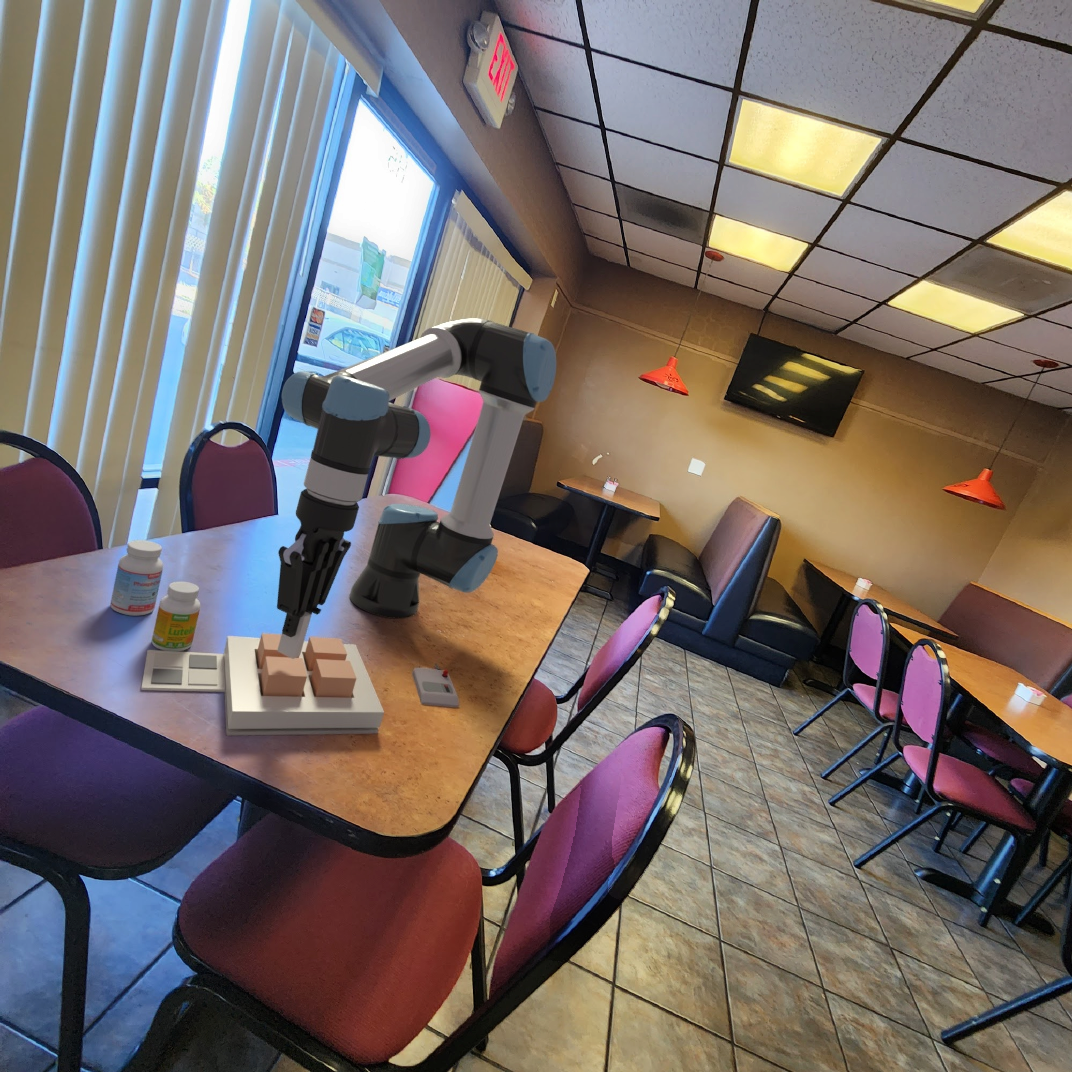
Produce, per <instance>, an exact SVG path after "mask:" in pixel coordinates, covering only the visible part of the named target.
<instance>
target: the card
mask: <svg viewBox="0 0 1072 1072" xmlns="http://www.w3.org/2000/svg"><path fill="white" fill-rule="evenodd" d="M223 654H224V653H215V652H214V653H210V652H209V653H208V652H196V651H195V652H193V651H192V652H191V651H178V652H177V651H164V650H159V649H158V650H157V649H156V650H155V649H147V652H146V656H145V657H146V658H145V663H144V670H143V677H142V681H141V688H140V690H141V691H160V692H161V691H162V692H163V691H164V692H165V691H166V692H170V691H171V692H202V693H203V692H209V693H210V692H212V693H216V692H217V693H225V677H224V656H223Z"/></svg>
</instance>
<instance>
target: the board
mask: <svg viewBox="0 0 1072 1072" xmlns="http://www.w3.org/2000/svg"><path fill="white" fill-rule="evenodd" d="M260 638H261V637H250V636H249V637H248V636H236V635H227V638H226V641H225V645H224V650H223V651H224V652H223V653H222V654H223V656H224V677H225V692H224V707H225V708H224V709H225V729H226V730H225V731H226V732H225V733H226V734H225V735H226V736H281V735H282V736H291V735H295V736H296V735H348V734H349V735H354V734H355V735H359V734H362V735H363V734H366V735H367V734H368V735H369V734H378V733H379V728H380V727H381V724H382V721H383V718H384V714H385V711H384V709H383V706H382V704H381V702H380V699H379V697H378V695H377V692H376V690H375V688H374V687H375V686H374V685H373V683H372V680H371V678H370V675H369V673H368V671H367V668H366V666H365V663H364V661H363V659H362V657H361V654H360V652H359V649H358V647H357V644H353V643H343V645H344V647H345V650H346V653H347V656H346V660H345V661H350V663H351V665H352V668H353V670H354V673H355V676H356V678H357V679H356V682H355V686H354V689H353V692H352V696H351V698H340V697H315V693H314V689H313V686H312V682H311V676H312V673H313V671H308V667H307V663H306V660H305V656H304V655H305V651H306V647H307V644H308V640H304V643H303V647H302V650H301V654H300V656H299V658H302V659H303V663H304V667H305V671H306V674H307V679H306V682H305V686H304V690H303V693H302V697H289V696H263V692H262V685H261V678H260V677H261V673H262V669H259V664H258V657H257V650H258V646H259V642H260Z"/></svg>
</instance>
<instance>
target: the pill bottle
mask: <svg viewBox="0 0 1072 1072" xmlns="http://www.w3.org/2000/svg"><path fill="white" fill-rule="evenodd" d="M126 547H127V548H126V553H127V554H125V555H122V556H121V557H120V559H119V560H118V564H117V568H116V569H117V570H116V574H115V579H114V583H113V588H112V589H113V590H112V595H111V600H110V608H111V610H114V611H115V612H117V613H119V614H122V615H126V616H135V617H136V616H137V617H138V616H144V615H147V614H150V613H152V612H153V611H154V610H155V607H156V603H157V597H158V593H159V590H160V589H159V588H160V585H161V579H162V575H163V570H164V562H163V561H162V559H160V557H161V554H162V549H163V547H162V546H161V544H158V543H157V542H154V541H150V540H143V539H142V540H141V539H137V540H131V541H129V542H127V546H126Z"/></svg>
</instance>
